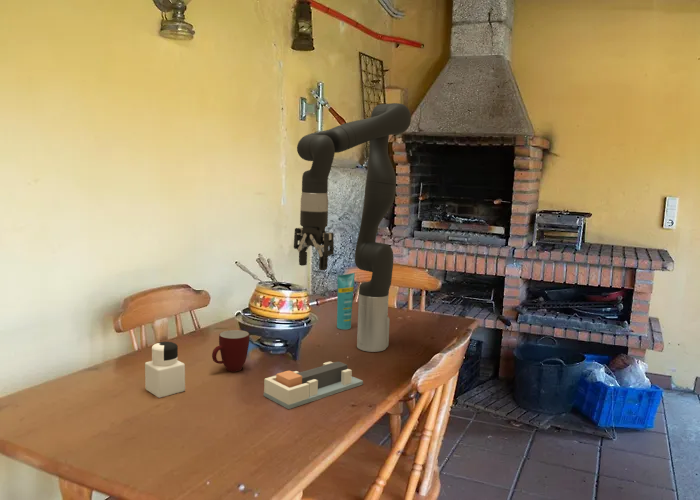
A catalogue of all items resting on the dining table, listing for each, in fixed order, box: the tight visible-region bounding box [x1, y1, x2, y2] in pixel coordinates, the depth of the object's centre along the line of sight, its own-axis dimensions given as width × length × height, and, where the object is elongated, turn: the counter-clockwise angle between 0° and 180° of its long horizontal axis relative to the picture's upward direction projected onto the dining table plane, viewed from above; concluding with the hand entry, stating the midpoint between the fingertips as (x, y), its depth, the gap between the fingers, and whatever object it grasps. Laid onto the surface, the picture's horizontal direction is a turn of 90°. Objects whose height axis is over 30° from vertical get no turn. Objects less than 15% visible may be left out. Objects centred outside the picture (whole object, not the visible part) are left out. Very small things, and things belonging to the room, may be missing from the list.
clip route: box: [263, 361, 364, 410], centre depth 150 cm, size 24×10×4 cm, turn 134°
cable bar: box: [275, 360, 349, 389], centre depth 150 cm, size 20×5×5 cm, turn 134°
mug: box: [211, 329, 250, 373], centre depth 161 cm, size 10×8×10 cm
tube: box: [336, 272, 356, 330], centre depth 205 cm, size 7×5×19 cm, turn 134°
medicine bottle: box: [144, 341, 186, 399], centre depth 146 cm, size 7×7×12 cm
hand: (312, 267), depth 164 cm, fingers open, 8 cm apart
